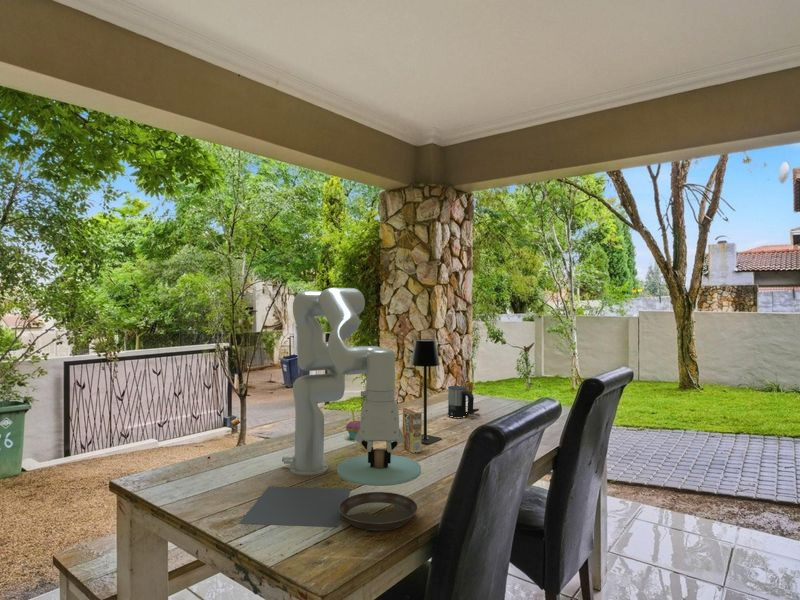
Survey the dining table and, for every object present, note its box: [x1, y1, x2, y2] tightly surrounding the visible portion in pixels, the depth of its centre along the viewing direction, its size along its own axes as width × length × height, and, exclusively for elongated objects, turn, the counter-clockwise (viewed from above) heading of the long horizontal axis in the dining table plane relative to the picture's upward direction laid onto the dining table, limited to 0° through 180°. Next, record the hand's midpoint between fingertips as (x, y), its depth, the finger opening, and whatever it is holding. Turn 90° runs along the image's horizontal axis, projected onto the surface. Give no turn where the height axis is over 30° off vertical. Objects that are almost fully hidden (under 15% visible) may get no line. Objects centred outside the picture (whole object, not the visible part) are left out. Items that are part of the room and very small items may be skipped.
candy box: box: [402, 407, 423, 454], centre depth 190 cm, size 9×4×15 cm, turn 26°
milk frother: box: [447, 385, 480, 417], centre depth 248 cm, size 14×16×15 cm
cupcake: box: [345, 409, 361, 441], centre depth 204 cm, size 9×8×12 cm
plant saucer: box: [339, 491, 418, 531], centre depth 130 cm, size 21×21×3 cm
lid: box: [336, 447, 422, 487], centre depth 130 cm, size 22×22×5 cm
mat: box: [238, 485, 352, 528], centre depth 136 cm, size 25×25×1 cm
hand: (379, 465), depth 130 cm, fingers closed on lid, 3 cm apart
